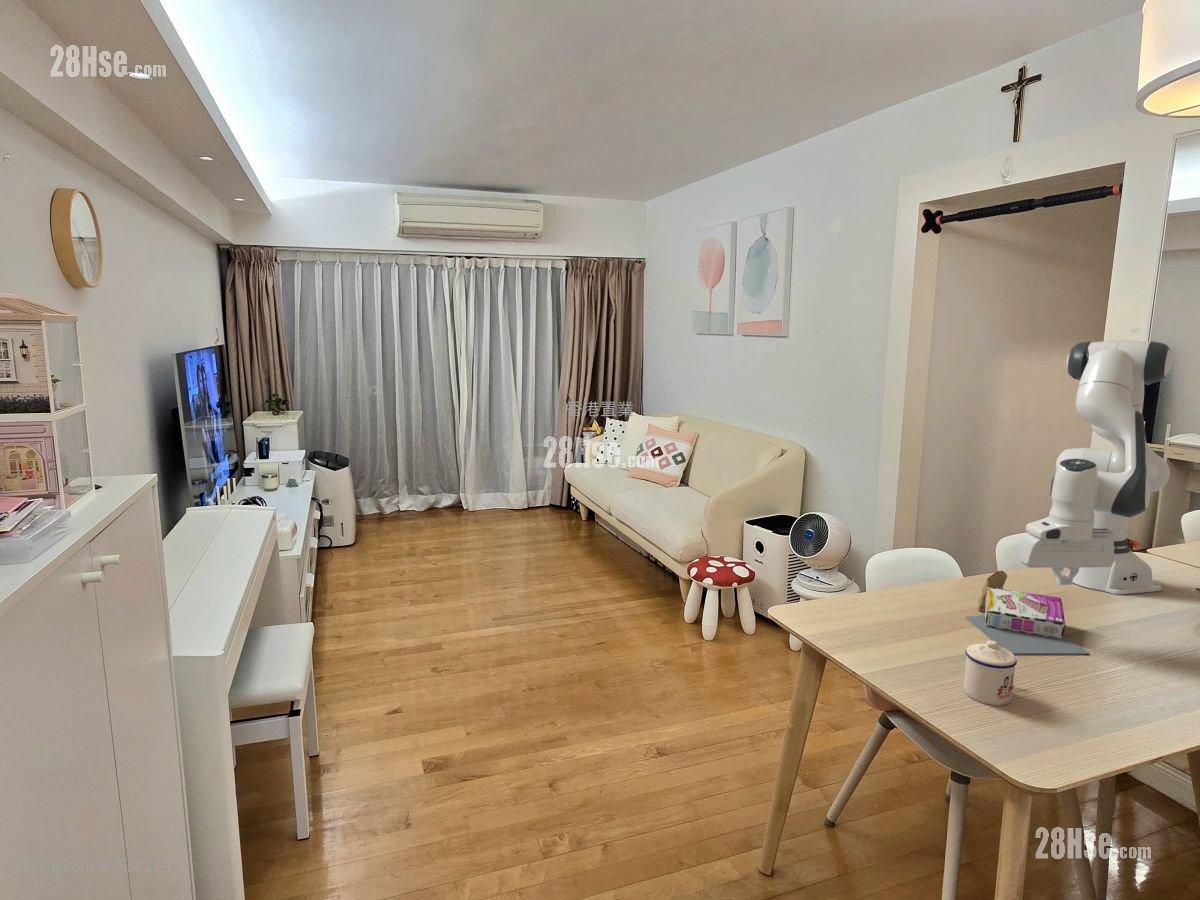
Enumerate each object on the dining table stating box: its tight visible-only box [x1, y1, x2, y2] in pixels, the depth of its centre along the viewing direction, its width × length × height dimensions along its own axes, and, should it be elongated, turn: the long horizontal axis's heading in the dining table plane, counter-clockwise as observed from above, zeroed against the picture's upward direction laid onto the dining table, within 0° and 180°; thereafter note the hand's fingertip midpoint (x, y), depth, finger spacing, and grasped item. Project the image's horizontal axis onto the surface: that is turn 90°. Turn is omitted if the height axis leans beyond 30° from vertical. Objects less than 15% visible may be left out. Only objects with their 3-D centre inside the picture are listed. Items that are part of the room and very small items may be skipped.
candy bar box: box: [984, 587, 1066, 639], centre depth 171 cm, size 11×5×16 cm
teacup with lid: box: [963, 639, 1018, 706], centre depth 141 cm, size 12×9×12 cm
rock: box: [978, 570, 1008, 613], centre depth 184 cm, size 11×9×10 cm
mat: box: [965, 615, 1090, 656], centre depth 167 cm, size 18×20×1 cm
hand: (1063, 584), depth 165 cm, fingers closed
